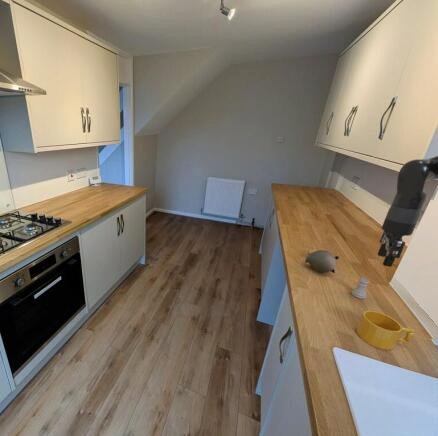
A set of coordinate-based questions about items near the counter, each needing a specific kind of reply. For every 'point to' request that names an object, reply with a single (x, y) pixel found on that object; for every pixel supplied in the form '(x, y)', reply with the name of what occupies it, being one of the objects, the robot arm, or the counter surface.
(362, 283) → the rook chess piece
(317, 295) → the counter surface
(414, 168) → the robot arm
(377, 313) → the mug
